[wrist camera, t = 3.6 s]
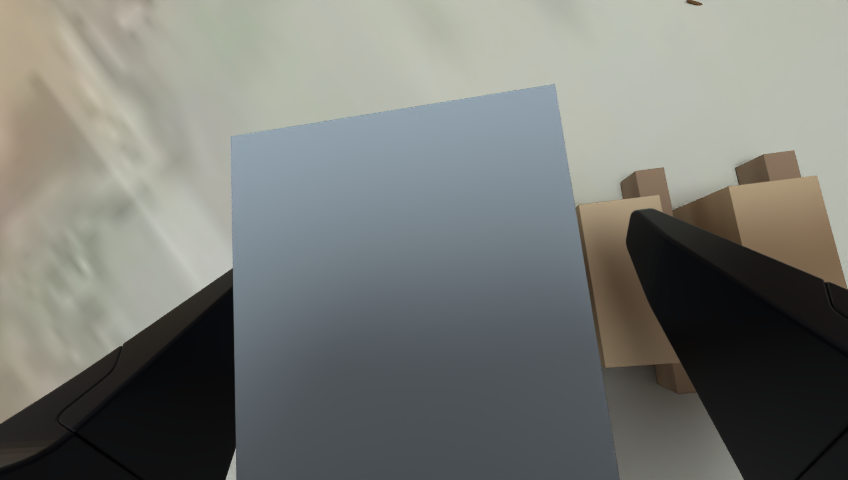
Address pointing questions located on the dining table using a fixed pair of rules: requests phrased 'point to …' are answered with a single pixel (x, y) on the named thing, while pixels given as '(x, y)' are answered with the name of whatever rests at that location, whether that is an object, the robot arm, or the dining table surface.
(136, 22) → the dining table surface
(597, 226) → the oak offcut
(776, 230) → the oak offcut
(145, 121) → the dining table surface
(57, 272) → the dining table surface
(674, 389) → the rack
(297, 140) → the batten
